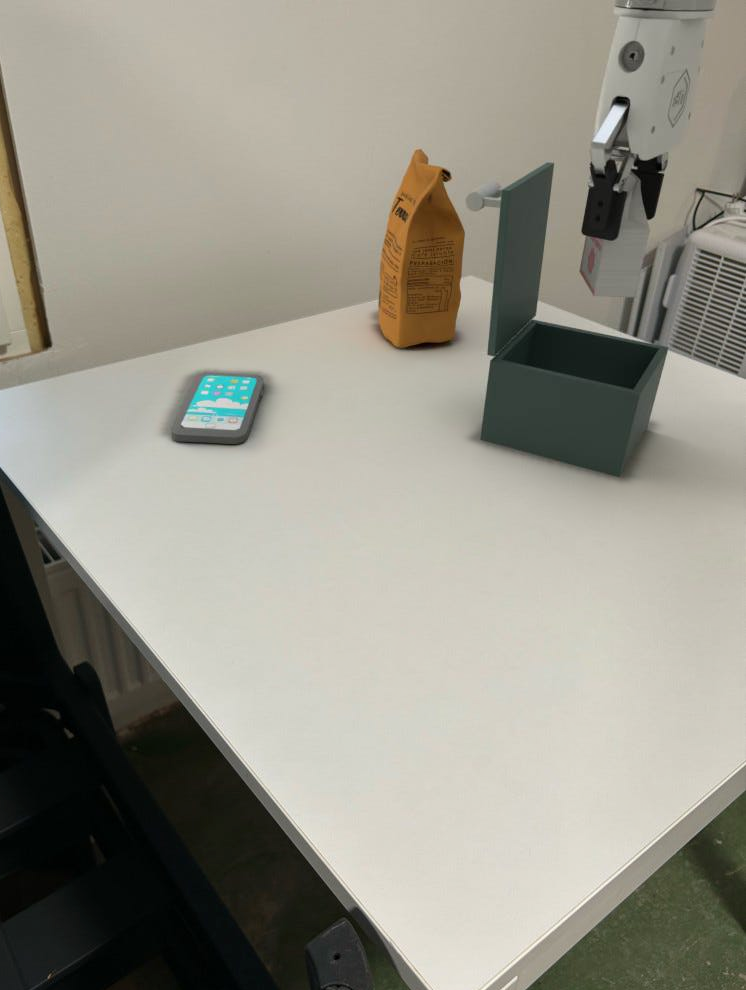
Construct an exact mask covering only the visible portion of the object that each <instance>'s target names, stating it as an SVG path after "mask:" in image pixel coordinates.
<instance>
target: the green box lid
mask: <svg viewBox="0 0 746 990" xmlns="http://www.w3.org/2000/svg"><path fill="white" fill-rule="evenodd" d="M554 169H555V163H554V162H545V163H544V164H542V165H540V166H539V167H537V168H535V169H534V170H532V171H531V172H528V173H527V174H525V175H524V176H522V177H520V178H519V179H517V180H515V181H514V182H513V183H511V184H509V185H508V186H506V187H502V186H501V184H500V182H498V181H496V180H490V181H488V182H486V183H484V184H483V185H481V186H479V187H478V188H477V187H476V189H474V190H471V192H469V193H468V194H467V195H466V197H465V206H466V208H467V209H468V210H469V211H471V212H473V213H474V212H475V213H476V212H479V211H480V210H482V209H483V208H485V207H488V208H497V209H499V215H498V228H497V238H496V250H495V261H494V271H493V272H494V273H493V283H492V284H493V285H492V295H491V309H490V317H489V318H490V319H489V330H488V342H487V353H486V355H487V356H490V357H495V356H496V355H497V354H498V353H499V352H500V351H501V350H502V349H503V348H504V347H505V346H506V345H507V344H508V343H509V342H510V341H511V340H512V339H513V338H514V337H515V336H516V335H517V334H518V333H519V332H520V331H521V330H522V329H523V328H524V327H525V326H526V325H527V324H528V323H529V322H530V321H531V320H532V319H533V320H534V318H535V317H536V316H537V311H538V302H539V294H540V285H541V277H542V269H543V261H544V253H545V252H544V251H545V242H546V235H547V228H548V227H547V226H548V220H549V211H550V204H551V203H550V201H551V193H552V187H553V179H554V178H553V176H554Z"/></svg>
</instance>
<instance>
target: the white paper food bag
mask: <svg viewBox="0 0 746 990" xmlns="http://www.w3.org/2000/svg"><path fill="white" fill-rule="evenodd" d="M621 164H622V162H619V161H616V167H617V172H619V169H620V166H621ZM623 191H627V197H626V202H625V207H624V211H623V216H622V221H621V226H620V230H619V235H618V238H617V239H615V240H613V241H609V240H604V239H600V238H595V237H590V236H585V238H584V244H583V250H582V256H581V261H580V266H579V273H580V275H581V277H582V279H583V280H584V282H585V284H586V286H587V287H588V289H589V290H590V292H591V294H592V296H593V297H600V298H601V297H603V298H604V297H607V298H614V297H615V298H635V297H636V293H637V289H638V285H639V280H640V275H641V272H642V268H643V262H644V258H645V254H646V249H647V246H648V245H647V244H648V241H649V235H650V231H651V229H650V225H649V220H647V217H646V213H645V209H644V206H643V201H642V195H641V180H640V179H639V178H638V177H637V176H636V175H635V174H634V173H633V172H632V171H630V174H629V176H628V179H627V181H626V184H625V186H624V189H623Z"/></svg>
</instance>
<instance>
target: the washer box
mask: <svg viewBox="0 0 746 990" xmlns="http://www.w3.org/2000/svg"><path fill="white" fill-rule="evenodd" d="M668 352H669V347H668V346H664V345H660V344H655V343H649V342H645V341H640V340H637V339H632V338H631V339H630V338H626V337H620V336H616V335H615V336H614V335H611V334H606V333H602V332H601V333H600V332H596V331H591V330H587V329H583V328H582V329H581V328H577V327H572V326H567V325H562V324H557V323H552V322H547V321H542V320H537V319H534V318H533V319H532V320H531V321H530V322H529V323H528V324H527V325H526V326H525V327H524V328H523V329H522V330H521V331H520V332H519V333H518V334H517V335H516V336H515V337H514V338H513V339H512V340H511V341H510V342H509V343H508V344H507V345H506V346H505V347H504V348H503V349H502V350H500V351H499V352H498V353H497V354H496V355H495V356H493V357H492V358H491V359H490V360H489V367H488V375H487V383H486V391H485V399H484V408H483V413H482V422H481V430H480V438H479V440H481V441H484V442H487V443H490V444H494V445H498V446H502V447H506V448H509V449H513V450H517V451H521V452H525V453H528V454H532V455H534V456H539V457H542V458H546V459H550V460H552V461H558V462H561V463H565V464H569V465H572V466H576V467H579V468H584V469H587V470H590V471H594V472H598V473H601V474H602V473H603V474H605V475H609V476H613V477H616V478H620V477H621V475H622V474H623V471H624V469H626V468H625V467H626V466H627V465H628V463H629V461H630V459H631V457H632V455H633V453H634V451H635V450H636V448H637V446H638V444H639V442H640V440H641V439H642V437H643V436H644V433H645V431H646V430H648V426H649V425H650V424H649V423H650V420H651V416H652V412H653V408H654V404H655V402H656V397H657V393H658V390H659V386H660V381H661V378H662V374H663V371H664V367H665V363H666V359H667V356H668Z"/></svg>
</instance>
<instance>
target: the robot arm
mask: <svg viewBox="0 0 746 990" xmlns="http://www.w3.org/2000/svg"><path fill="white" fill-rule="evenodd" d="M717 1H718V0H615V1H614V6H613V13H612V14H613V15H616V16H619V17H618V21H617V24H616V27H615V31H614V34H613V39H612V42H611V43H612V44H611V47H610V50H609V53H608V59H607V63H606V68H605V72H604V76H603V81H602V86H601V90H600V95H599V99H598V105H597V109H596V115H595V121H594V123H595V124H594V129H593V136H592V140H591V142H590V145H589V150H590V151H589V153H590V163H589V172H590V175H589V178H588V182H587V186H588V191H587V196H586V203H585V207H584V214H583V218H582V225H581V231H580V232H581V234H582V235H583V236H585V237H586V236H590V237H595V238H600V239H604V240H609V241H613V240H615V239H617V238H618V235H619V230H620V226H621V221H622V216H623V211H624V207H625V202H626V197H627V191H623V189H624V186H625V184H626V181H627V179H628V176H629V174H630V171H632V172H633V173H634V174H635V175H636V176H637V177H638V178H639V179H640V180H641V195H642V201H643V206H644V209H645V213H646V217H647V221H650V220H652V219H654V218H655V216H656V213H657V209H658V204H659V199H660V195H661V192H662V187H663V183H664V179H665V178H664V177H665V172H666V170H667V167H668V165H669V164H668V163H669V152H670V151H672V150H675V148H677V147H679V146H681V145H682V144H683V143H684V141H685V139H686V137H687V134H688V129H689V124H690V120H691V116H692V115H691V114H692V110H693V105H694V102H695V101H694V100H695V95H696V91H697V85H698V79H699V74H700V69H701V63H702V57H703V51H704V44H705V38H706V37H705V36H706V30H707V29H706V28H707V19H712V18H713V17H714V14H715V8H716V5H717ZM622 148H628V149H622ZM617 162H619V163H621V162H622V164H621V166H620V169H619V172H617V167H616V164H617Z"/></svg>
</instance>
